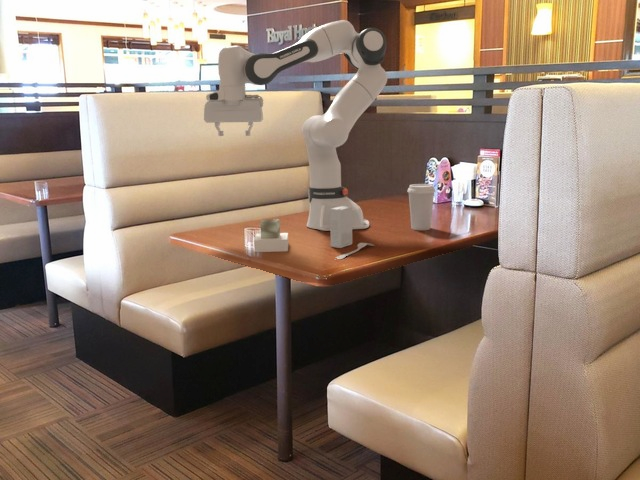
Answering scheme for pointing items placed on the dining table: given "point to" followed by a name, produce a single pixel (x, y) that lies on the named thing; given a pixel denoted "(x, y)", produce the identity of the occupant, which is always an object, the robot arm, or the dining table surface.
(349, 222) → the skincare box
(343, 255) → the fork
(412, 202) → the coffee cup
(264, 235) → the sage cube
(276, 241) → the painted block
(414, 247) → the dining table surface
